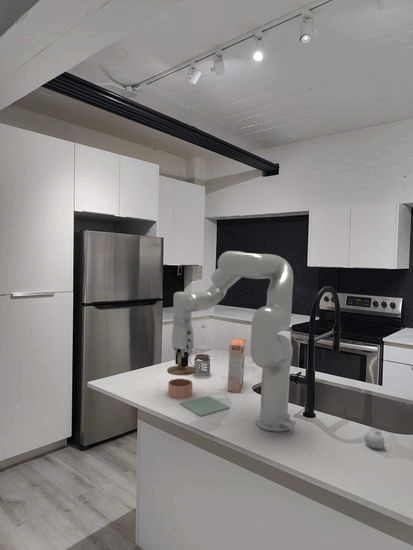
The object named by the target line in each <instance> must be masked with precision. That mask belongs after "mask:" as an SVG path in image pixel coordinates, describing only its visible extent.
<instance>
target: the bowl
mask: <svg viewBox="0 0 413 550" xmlns="http://www.w3.org/2000/svg"><path fill="white" fill-rule="evenodd" d="M167 385H168V387H167V389H168V390H167V394H168V395H167V396H169V397H170V398H173V399H179V400H180V399H181V400H184V399H187V398H190V397H192V396H193V381H192V380H190V379H186V378H174V379H170V380H169V381H168V383H167Z"/></svg>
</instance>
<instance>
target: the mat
mask: <svg viewBox="0 0 413 550" xmlns="http://www.w3.org/2000/svg"><path fill="white" fill-rule="evenodd" d="M179 405H180V406H182V407H184V408H185V409H187V410H188V411H190V412H192V413H194V414H195V415H197V416H199V417H203V416H208V415H212V414H216V413H219V412H223V411H225V410H229V409H231V407H230V406H228V405H227V404H225V403H223V402H221V401H219V400H218V399H215V398H213V397H212V396H210V395H206V396H202V397H198V398H193V399H190V400H189V399H188V400H185V401H181V402H179Z"/></svg>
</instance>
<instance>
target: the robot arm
mask: <svg viewBox="0 0 413 550" xmlns="http://www.w3.org/2000/svg"><path fill="white" fill-rule="evenodd" d="M210 276H211V282H212V284H211V286H210V287H208V288H207V290H204V291H197V292H189V291H176V292H174V294H173V310H172V311H173V312H172V313H173V314H172V315H173V316H172V317H173V319H172V320H173V321H172V323H173V324H172V325H173V326H172V335H171V336H172V337H171V344H172V346H171V347H172V348H173V350H174V354H175V361H174V362H175V365H177V362H178V352H182V357H181V367H185V366H189V358H190V357H189V355H190V353H191V352H192V353H193V349H194V345H195V344H194V330H193V326H192V312H193V313H194V312H201V311H207V310H210V309H212V308H213V307H215V306H216V305H217V304H219V303H220V302H221V301H222V300H223V299H224V298H225V296H226V294H227V292H228V289H230V288H231V287H232V286H233V285H234V284H235V283H236V282H238V281H239V280H240V279H241V278H246V279H252V280H253V279H254V280H261V279H264V280H265V279H269V281H270V282H269V285H268V288H267V293H266V295H267V296H266V305H265V306H261V307H259V308H258V309H257V310H256V311H255V313H254V314H253V317H252V319H251V332H250V334H251V335H250V355H251V356H250V357H251V359H252V361H253V363H254V364H255V365H256V366H258V367H259V368H262V370H261V385H260V386H261V390H260V410H259V411H260V415H257V416H256V417H255V424H256V426H258V427H259V428H260V429H263V430H266V431H268V432H277V433H278V432H279V433H280V432H286V431H288V430H293V429H294V427H295V426H296V421H294V420H291V414H290V413H289V391H290V390H289V389H290V376H291V375H290V374H291V373H290V372H291V365H292V360H293V354H294V353H293V352H294V351H293V350H294V349H293V348H294V347H293V345H292V342H291V340H290V339H289V338H288V337H287V336H285V335H283V334H279V333H281V332H283V331H286V330H287V329H288V328H289V327H290V325H291V322H292V306H293V287H294V272H293V268H292V266H291V264H290V263H289V262H288V261H287V260H286V259H285V258H283V257H281V256H279V255H278V254H277V255H276V254H270V253H251V252H244V251H240V250H239V251H238V250H237V251H236V250H227V251H225V252H223V253H222V254H220V256H219V258H218V260H217V269H215V270H214V271H213V272H212V274H211V275H210ZM192 353H191V354H192Z"/></svg>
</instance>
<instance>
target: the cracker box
mask: <svg viewBox="0 0 413 550" xmlns="http://www.w3.org/2000/svg"><path fill="white" fill-rule="evenodd" d="M228 349H229V352H228V353H229V354H228V371H227V372H228V373H227V374H228V376H227V392H229V393H231V392H232V393H239V394H240V393H241V390H242V389H243V384H244V377H245V376H244V375H245V358H246V355H245V354H246V339H245V338H233V339H232V340H231V342H230V344H229V348H228Z"/></svg>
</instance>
